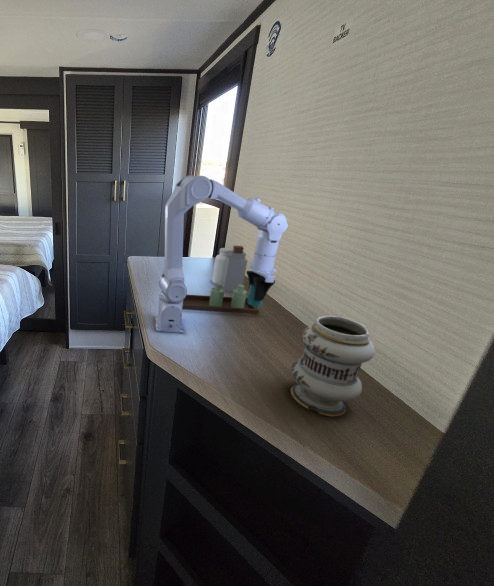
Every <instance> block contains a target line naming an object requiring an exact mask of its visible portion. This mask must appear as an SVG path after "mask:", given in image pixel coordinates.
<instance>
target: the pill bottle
mask: <svg viewBox="0 0 494 586" xmlns="http://www.w3.org/2000/svg"><path fill="white" fill-rule="evenodd" d="M229 250H233V248H229V247H221V248H219V251H218V253H219V254H217V255H216V256H215V258H214V265H213V271H212V279H211V282H212V283H213V284H214V285H216V283H219V284H221V283H222V277H223V271H224V265H225V259H226V255H229Z"/></svg>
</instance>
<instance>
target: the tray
mask: <svg viewBox="0 0 494 586" xmlns="http://www.w3.org/2000/svg"><path fill="white" fill-rule="evenodd" d="M247 299H248V297H246V300H245V305H244V308H232V307H231V306H230V305H231V300H232V296H223V302H222V307H216V306H209V300H210V295H200V294H187V295H186V297H185V298H184V299H183V307H182V310H185V311H199V312H202V311H203V312H216V313H230V314H231V313H234V314H235V313H236V314H248V315H249V314H250V315H259V312H260V311H259V309H258V307H257V306H252V305H249V304H248V303H247Z"/></svg>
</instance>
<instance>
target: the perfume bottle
mask: <svg viewBox="0 0 494 586" xmlns="http://www.w3.org/2000/svg"><path fill="white" fill-rule="evenodd" d="M244 248H245V247H244V246H242V245H233V246H232V249H233V250H229V255H226V259H225V265H224V271H223V277H222V283H221V284H222V286H221V288H222V289H224V291H232V292H233V290H234V289H237V288H238V285H244V281H245V275H246V272H247V271H246V270H247V265H248V259H247V258H246V256H247V253H246V252H245V251H244V250H245V249H244Z"/></svg>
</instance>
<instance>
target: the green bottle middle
mask: <svg viewBox="0 0 494 586" xmlns="http://www.w3.org/2000/svg"><path fill="white" fill-rule="evenodd" d="M221 286H222V284H219V283H216V284H214V287H211V289H210V294H209V296H210V300H209V306H216V307H222V302H223V297H225V296H224V295H225V290H224V289H223V288H222V287H221Z"/></svg>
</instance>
